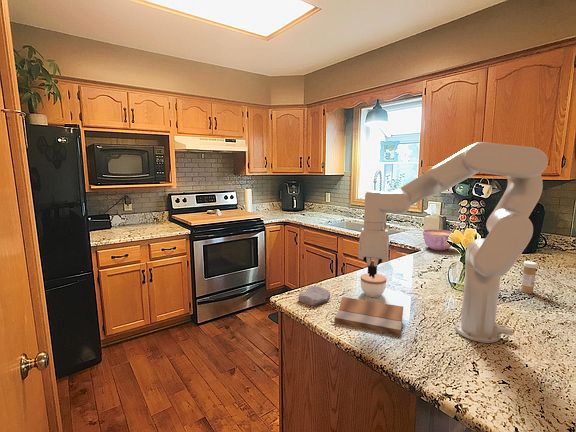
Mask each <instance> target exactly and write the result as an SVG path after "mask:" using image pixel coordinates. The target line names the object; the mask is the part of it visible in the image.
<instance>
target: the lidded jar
mask: <svg viewBox="0 0 576 432" xmlns="http://www.w3.org/2000/svg"><path fill="white" fill-rule="evenodd" d="M386 287H387V277H386V276H384V275H382V274H379V273H377V274H375V275H374V277H372V276H371V277H369V273H368V272H367V273H363V274H361V275H360V288H361V291H362V292H363V294H365V296H367V297H370V298H380V296H381V295H382V294H384V292H385V290H386Z"/></svg>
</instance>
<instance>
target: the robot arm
mask: <svg viewBox="0 0 576 432" xmlns="http://www.w3.org/2000/svg"><path fill="white" fill-rule="evenodd" d="M548 164H549V161H548V155H546V153H545V152H544V151H543V150H541V149H539V148H537V147H534V146H525V145H515V144H504V143H495V142H489V141H488V142H487V141H479V142H475V143H472V144H470V145H468V146H466V147H464V148H463V149H461V150H460V151H458V152H456V153H455V154H453V155H451V156H450V157H448V158H446V159H445V160H442V161H441V162H439V163H437V164H436V165H434V166H433V167H431V168H429V169H428V170H426V171H425V172H424V173H423V174H421V175H419V176H418V177H416V178H414V179H413V180H411V181H409V182H408V183H406V184H405V185H403V186H401V187H399V188H398V189H396V190H394V191H393V192H386V191H383V190H369V191H366V192H365V194H364V208H363V209H364V212H363V228H361V231H360V235H359V241H358V255H357V258H358V259H359V260H362V261H364V262H365V264H366V265H367V273H369V277H371V276H372V277H374V275H375V274H378V273H377V272H378V266H379V265H380V264H382V263H388V262H389V260H390V259H389V252H390V251H389V249H390V248H389V247H390V244H389V243H390V240H389V239H390V238H389V231H388V229H387V228H389V229H390V228H391V224H390V223H388V222H387V213H389V214H394V215H403V214H405V213H407V212H408V211H409V210H410V208H411V207H412V206H413V205H415V204H417V203H418V202H421V201H422V200H423V199H425V198H428V197H430V196H433V195H436V194H441V193H443V192H445V191H446V192H447V191H448V190H450V189H451V188H453V187H454V186H456V185H458V184H459V183H462V182H464V181H465V180H467V179H469V178H471V177H473V176H474V175H477V174H479V173H482V174H483V173H484V174H488V175H489V174H490V175H496V176H502V177H503V176H504V177H506V179H507V186H506V189H505V191H504V192H503V195H502V196H501V198H500V200H499V201H498V203H497V205H496V206H495V208H494V209H493V210H492V212H491V213H490V215H489V216H488V218H487V221H486V224H485V225H486V226H485V227H486V229H487V232H488V234H487V235H486V237H485V238H484V237H483V238H476V239H474V240H472V241H471V242H470V243H469V244H468V245H467V247H466V249H465V268H464V269H465V270H464V271H465V272H464V284H463V285H464V286H463V295H462V307H461V316H460V317H461V318H460V321H456V323H455V324H454V329H455V331H456V333H458V334H459V335H460V336H463V337H464V338H466V339H468V340H470V341H473V342H477V343H484V344H494V343H496V342H498V341H500V338H501V334H502V335H508V336H513V335H514V330H513V329H512V328H507V326H506V325H504V324H498V323H497V322H496V320H497V310H498V301H499V292H500V284H501V283H500V282H501V277H503V276H505V275H506V274H507V273H508V272H509V271H510V270H511V269H512V268H513V266H515V264H516V262H517V261H518V259H519V258H520V256H521V255H522V253H523V252H524V250H525V249H526V248H527V246H528V245H529V243H530V241H531V239H532V238H533V233H534V225H533V223H532V221H531V219H530V218H529V217H530V216H531V214H532V212H533V210H534V208H535V207H536V205H537V204H538V202H539V200H540V198H541V195H542V193H543V187H544V186H543V185H544V183H543V176H542V174H543V172H545V171H546V169H547V168H548ZM372 259H374V262H372Z"/></svg>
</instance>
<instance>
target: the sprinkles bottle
mask: <svg viewBox="0 0 576 432" xmlns="http://www.w3.org/2000/svg"><path fill="white" fill-rule="evenodd" d="M522 265H523V269H522V270H523V271H522V277H521V289H520V291H521V292H522V293H524V294H529V295H531V294H534V287H535V281H536V274H537V273H536V272H537V268H538V263H537V262H534V261H531V260H530V261H529V260H527V261H526V260H525V261H524V262H523V264H522Z"/></svg>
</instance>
